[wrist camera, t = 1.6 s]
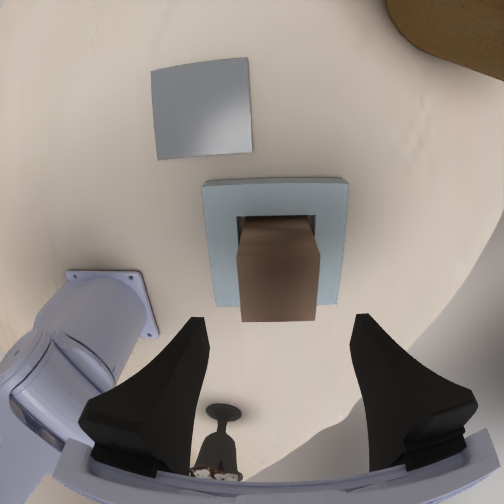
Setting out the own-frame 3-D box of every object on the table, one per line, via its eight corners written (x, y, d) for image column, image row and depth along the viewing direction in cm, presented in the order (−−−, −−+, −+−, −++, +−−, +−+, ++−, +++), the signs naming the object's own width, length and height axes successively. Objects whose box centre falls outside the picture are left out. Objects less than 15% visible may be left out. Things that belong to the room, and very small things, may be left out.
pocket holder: (219, 294, 25) (216, 306, 23) (206, 181, 20) (201, 186, 19) (332, 291, 24) (336, 304, 22) (342, 178, 19) (348, 183, 18)
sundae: (255, 408, 33) (249, 510, 19) (237, 426, 36) (228, 515, 22) (208, 394, 32) (188, 500, 19) (195, 414, 35) (176, 505, 21)
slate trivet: (159, 159, 19) (157, 160, 19) (152, 72, 16) (150, 71, 16) (252, 151, 19) (252, 152, 19) (247, 58, 16) (247, 57, 16)
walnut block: (248, 266, 23) (241, 321, 17) (245, 214, 21) (236, 257, 15) (303, 265, 23) (314, 320, 17) (305, 213, 21) (320, 255, 15)
